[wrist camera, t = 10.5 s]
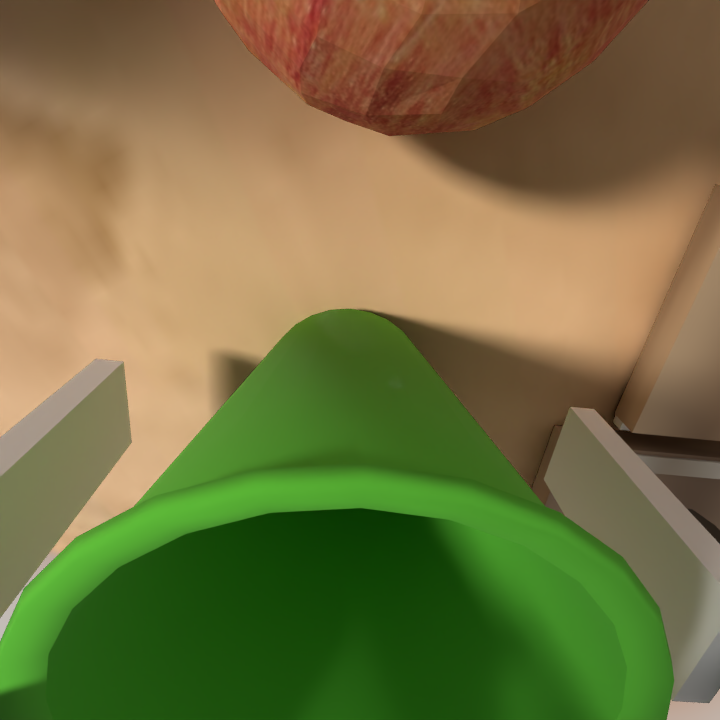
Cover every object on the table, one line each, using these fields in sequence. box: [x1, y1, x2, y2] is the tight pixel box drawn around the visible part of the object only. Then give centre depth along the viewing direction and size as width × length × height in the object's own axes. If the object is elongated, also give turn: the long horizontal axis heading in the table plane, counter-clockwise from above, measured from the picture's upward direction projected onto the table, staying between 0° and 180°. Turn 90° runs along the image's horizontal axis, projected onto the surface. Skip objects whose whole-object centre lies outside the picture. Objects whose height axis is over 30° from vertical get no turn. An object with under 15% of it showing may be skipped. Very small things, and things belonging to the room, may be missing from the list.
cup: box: [0, 309, 674, 720], centre depth 11 cm, size 9×9×11 cm
